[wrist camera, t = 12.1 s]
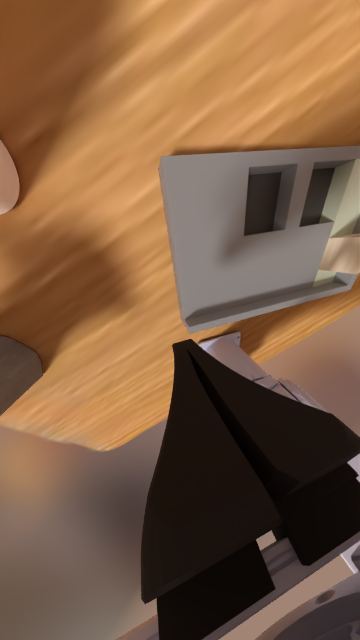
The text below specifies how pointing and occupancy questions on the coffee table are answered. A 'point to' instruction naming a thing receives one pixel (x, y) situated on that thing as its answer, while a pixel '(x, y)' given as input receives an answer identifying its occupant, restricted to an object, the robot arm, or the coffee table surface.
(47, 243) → the coffee table surface
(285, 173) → the box
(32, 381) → the coffeepot
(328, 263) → the block
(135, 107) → the coffee table surface
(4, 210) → the can
